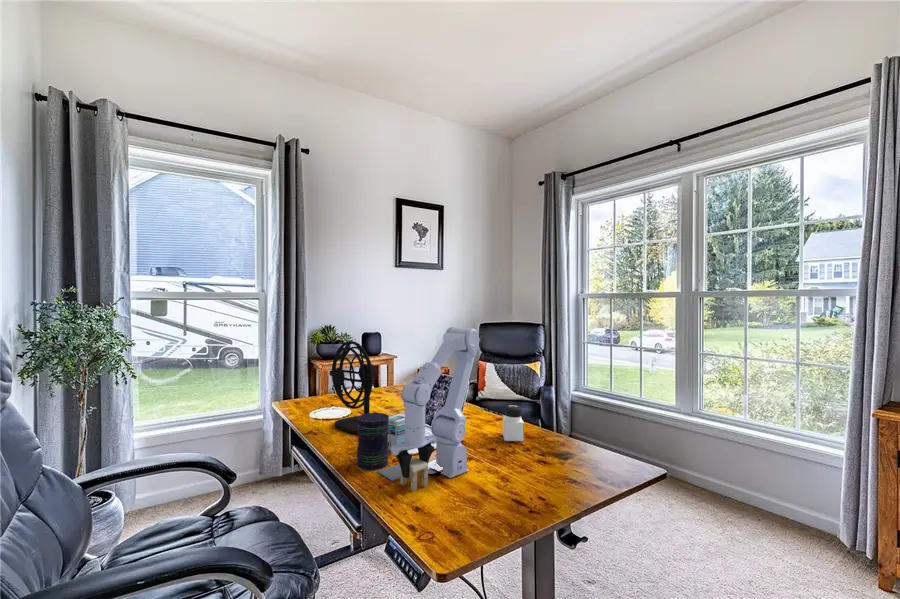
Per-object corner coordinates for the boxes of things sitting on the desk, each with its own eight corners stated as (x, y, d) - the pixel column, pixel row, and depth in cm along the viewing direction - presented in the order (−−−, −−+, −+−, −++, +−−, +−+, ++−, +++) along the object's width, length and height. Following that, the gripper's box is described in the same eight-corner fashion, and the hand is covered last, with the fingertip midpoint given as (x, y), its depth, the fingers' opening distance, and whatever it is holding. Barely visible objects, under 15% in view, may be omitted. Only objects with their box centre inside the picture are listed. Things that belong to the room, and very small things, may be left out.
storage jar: (394, 464, 130) (395, 417, 130) (368, 473, 123) (368, 423, 123) (376, 455, 137) (377, 410, 137) (350, 463, 130) (351, 416, 130)
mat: (413, 474, 123) (413, 472, 123) (392, 481, 118) (392, 479, 118) (397, 465, 129) (397, 464, 129) (377, 472, 124) (377, 470, 124)
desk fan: (319, 424, 169) (321, 339, 169) (356, 415, 182) (357, 337, 181) (357, 440, 150) (358, 345, 150) (394, 430, 163) (396, 342, 163)
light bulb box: (396, 453, 139) (397, 421, 139) (382, 448, 143) (383, 418, 143) (417, 444, 147) (418, 414, 147) (403, 440, 151) (404, 411, 151)
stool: (427, 486, 115) (428, 463, 115) (413, 491, 112) (413, 468, 111) (414, 479, 119) (415, 456, 119) (400, 484, 116) (400, 461, 116)
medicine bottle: (523, 441, 152) (524, 409, 152) (504, 441, 152) (505, 409, 152) (520, 435, 159) (521, 404, 159) (502, 434, 160) (503, 404, 160)
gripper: (426, 417, 123) (425, 462, 123) (385, 427, 113) (384, 476, 113) (441, 423, 118) (440, 470, 118) (400, 434, 108) (399, 485, 108)
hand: (414, 473), depth 115 cm, fingers open, 5 cm apart
